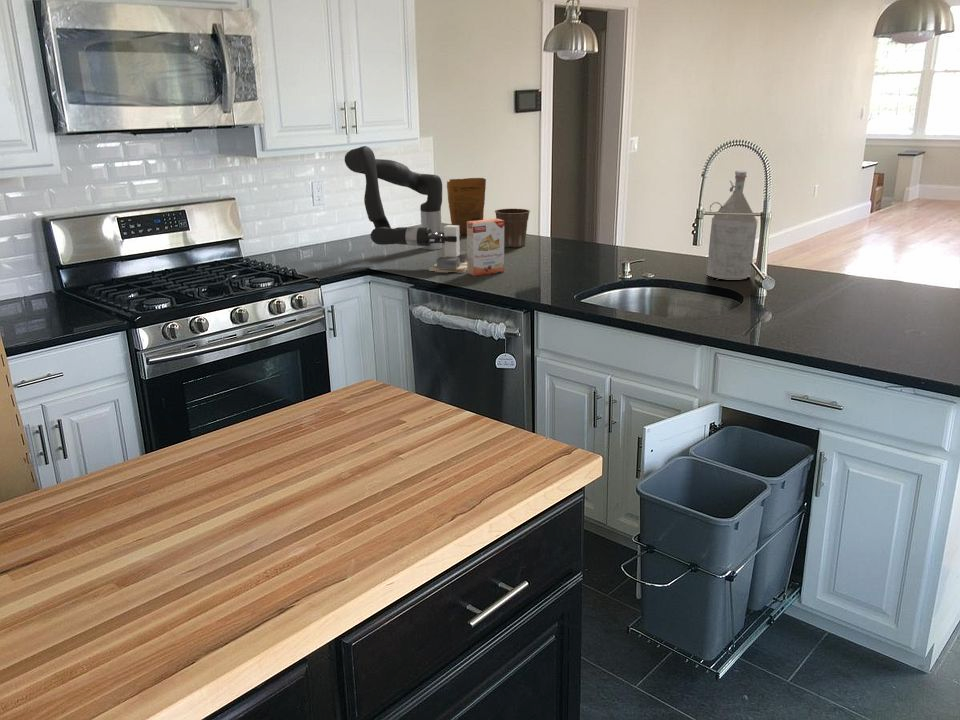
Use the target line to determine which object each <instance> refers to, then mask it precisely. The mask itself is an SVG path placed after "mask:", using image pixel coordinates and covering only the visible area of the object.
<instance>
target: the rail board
mask: <svg viewBox="0 0 960 720" xmlns="http://www.w3.org/2000/svg"><path fill="white" fill-rule="evenodd" d="M466 270H467V251H464V250H463V251H461V250H460V255H459V256H457V257H448V256H440V257H438V258H437V259H436V263H435V264H433V265H431V266H430V267H429V272H430V271H435V272H434V273H448V272H457V273H456V274H464V273H465V272H466ZM436 271H437V272H436ZM463 272H464V273H463Z"/></svg>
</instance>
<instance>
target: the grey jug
mask: <svg viewBox="0 0 960 720" xmlns="http://www.w3.org/2000/svg"><path fill="white" fill-rule="evenodd" d="M734 174H735V177H734V178H735V182H734V183H733V182H732V181H731V180H729V182H730V185H731V187H730V188H729V192H730V193H732V194H731V196H729V198H728V199H727V200H726V201H725V202H724V204H723V205H722V204H721V202H718V201H714V202H712V203H711V204H710V205H709V212H710V213H712V209H711V208H712V207H713V205H714V204H718V205H720V207H719V209H718V211H717V212H721V213H753V214H754V212H753V210H752V208H751V206H750V205H749V202H748V201H747V199H746V197H745V194H744V193H743V192H744V187H745V181H746V178H747V174H748V172H747V171H746V170H743V169H737V170H734ZM710 227H711V228H710V235H709V243H708V244H709V246H708V258H707V270H706V276H707V275H708V276H712V277H718V278H745V277H750V276H751V275H752V267H753V265H752V266H751V264H750V263H751V262H752V263H753V259H754V251H755V244H756V235H757V227H758V220H757V218H756V216H755V215H754V216H745V215H713V217H712V218H711V226H710ZM708 276H707V277H708ZM751 277H752V276H751Z"/></svg>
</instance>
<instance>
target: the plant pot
mask: <svg viewBox="0 0 960 720" xmlns="http://www.w3.org/2000/svg"><path fill="white" fill-rule="evenodd" d="M494 213H495V219H501V220H504V248H510V247H511V248H514V249H515V248H522V247H525V246H526V240H527V231H528V222H529V221H528V220H529V216H530V213H531V210H530V209H526V208H501V209H500V208H499V209H495V210H494Z"/></svg>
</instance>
